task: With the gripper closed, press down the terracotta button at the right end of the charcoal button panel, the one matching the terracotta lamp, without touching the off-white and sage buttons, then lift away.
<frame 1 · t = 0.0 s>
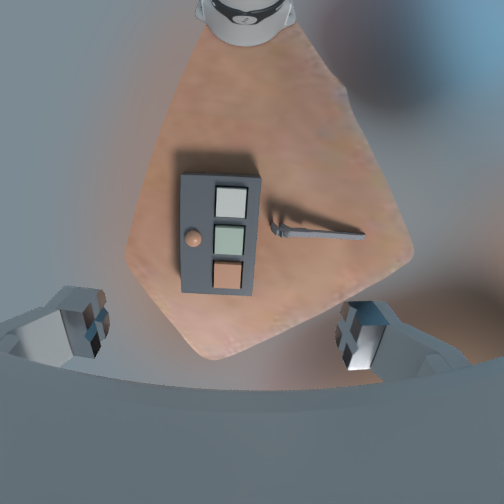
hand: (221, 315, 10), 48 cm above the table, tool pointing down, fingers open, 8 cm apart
sage button: (229, 238, 56), point 3 cm above the table, slide at 0.0 cm
button panel: (219, 232, 59), on the table
terracotta button: (227, 273, 58), point 3 cm above the table, slide at 0.0 cm
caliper: (319, 230, 60), on the table
white button: (231, 201, 53), point 3 cm above the table, slide at 0.0 cm
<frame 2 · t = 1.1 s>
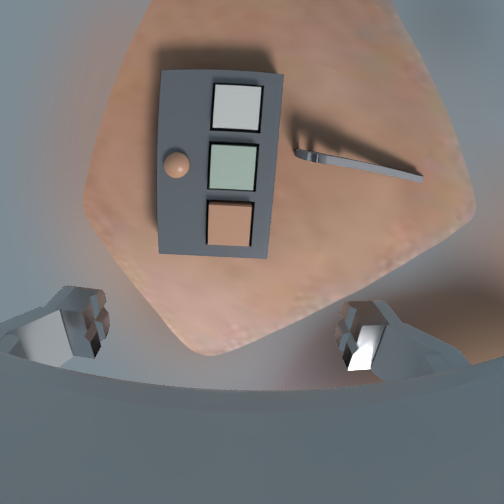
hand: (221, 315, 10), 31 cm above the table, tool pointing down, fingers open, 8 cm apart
sage button: (232, 165, 35), point 3 cm above the table, slide at 0.0 cm
button panel: (217, 161, 38), on the table
terracotta button: (229, 222, 37), point 3 cm above the table, slide at 0.0 cm
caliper: (364, 164, 39), on the table
white button: (236, 107, 32), point 3 cm above the table, slide at 0.0 cm
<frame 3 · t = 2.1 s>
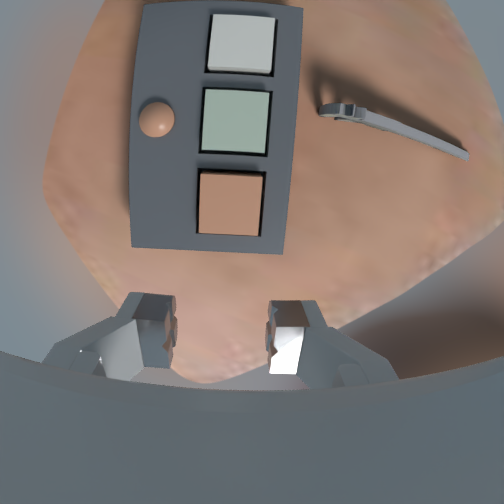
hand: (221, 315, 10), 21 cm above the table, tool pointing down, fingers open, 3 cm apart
sage button: (235, 121, 24), point 3 cm above the table, slide at 0.0 cm
button panel: (214, 122, 27), on the table
terracotta button: (230, 201, 26), point 3 cm above the table, slide at 0.0 cm
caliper: (403, 134, 28), on the table
white button: (241, 45, 21), point 3 cm above the table, slide at 0.0 cm
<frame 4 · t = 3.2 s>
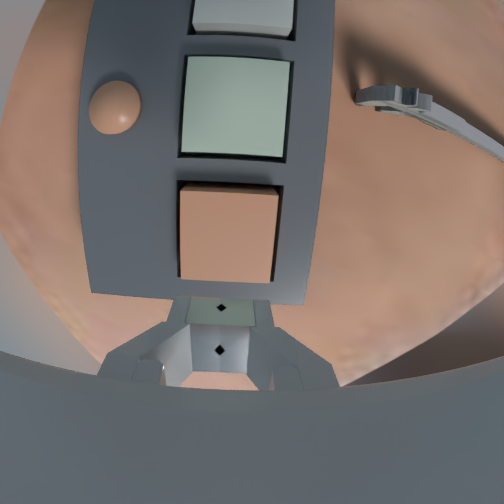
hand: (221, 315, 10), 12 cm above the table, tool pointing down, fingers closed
sage button: (235, 106, 15), point 3 cm above the table, slide at 0.0 cm
button panel: (204, 110, 18), on the table
terracotta button: (227, 230, 17), point 3 cm above the table, slide at 0.0 cm
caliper: (456, 135, 19), on the table
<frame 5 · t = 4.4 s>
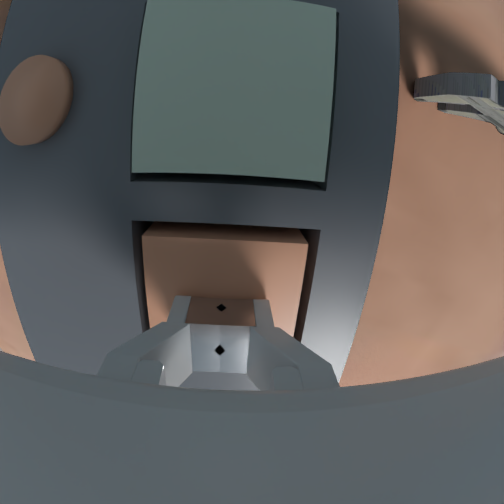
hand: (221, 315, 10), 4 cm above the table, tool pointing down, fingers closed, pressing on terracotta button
sage button: (234, 86, 8), point 4 cm above the table, slide at 0.0 cm
button panel: (185, 99, 11), on the table
terracotta button: (223, 290, 11), point 3 cm above the table, slide at 0.8 cm, touching gripper
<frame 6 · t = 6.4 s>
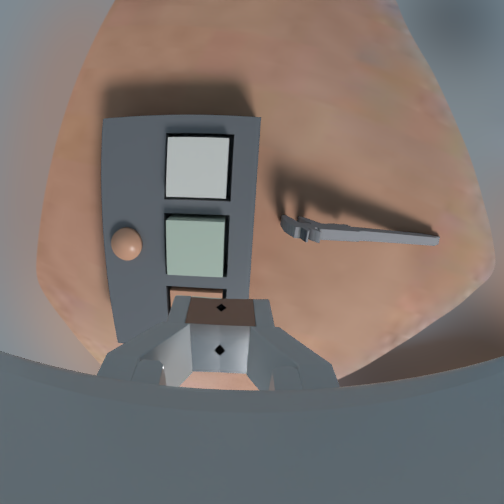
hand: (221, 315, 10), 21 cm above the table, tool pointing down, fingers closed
sage button: (196, 244, 27), point 3 cm above the table, slide at 0.0 cm
button panel: (181, 233, 30), on the table
terracotta button: (197, 307, 30), point 3 cm above the table, slide at 0.8 cm
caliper: (368, 229, 32), on the table
white button: (198, 166, 25), point 3 cm above the table, slide at 0.0 cm
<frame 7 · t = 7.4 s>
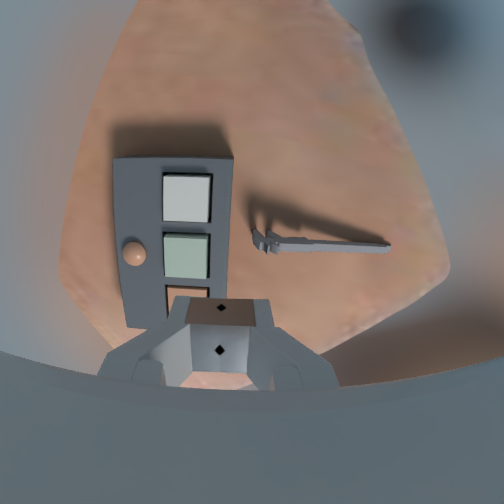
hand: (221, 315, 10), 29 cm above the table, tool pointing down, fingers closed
sage button: (186, 253, 36), point 3 cm above the table, slide at 0.0 cm
button panel: (176, 243, 39), on the table
terracotta button: (188, 300, 40), point 3 cm above the table, slide at 0.8 cm
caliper: (326, 239, 41), on the table
white button: (187, 196, 34), point 3 cm above the table, slide at 0.0 cm
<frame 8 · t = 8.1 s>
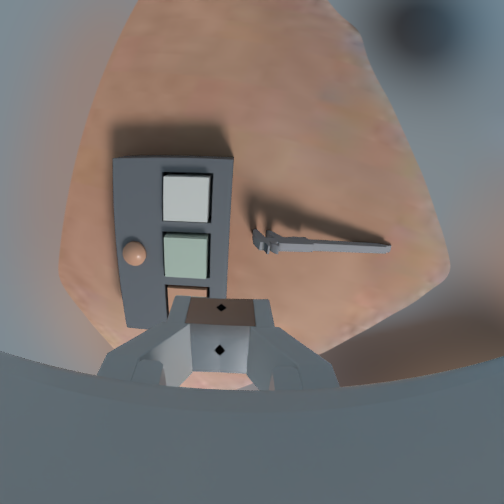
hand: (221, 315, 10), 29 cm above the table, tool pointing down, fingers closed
sage button: (186, 253, 36), point 4 cm above the table, slide at 0.0 cm
button panel: (176, 243, 39), on the table
terracotta button: (188, 300, 40), point 3 cm above the table, slide at 0.8 cm
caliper: (326, 239, 41), on the table
white button: (187, 196, 34), point 4 cm above the table, slide at 0.0 cm
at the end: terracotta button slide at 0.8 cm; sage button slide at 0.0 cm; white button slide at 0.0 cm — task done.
